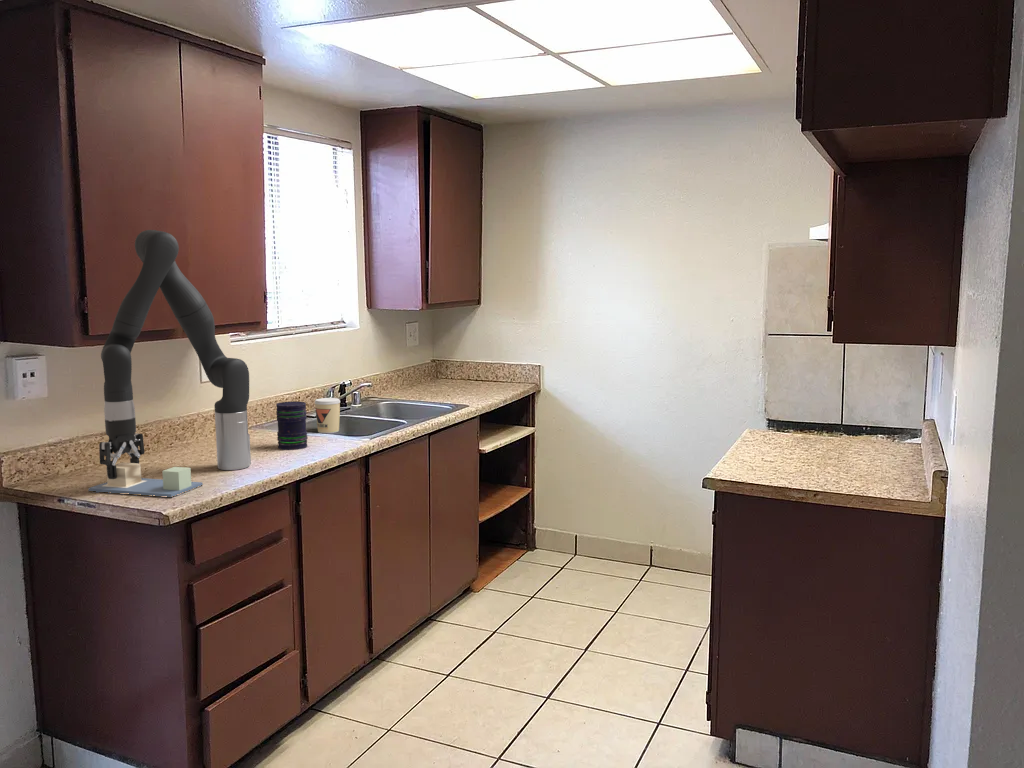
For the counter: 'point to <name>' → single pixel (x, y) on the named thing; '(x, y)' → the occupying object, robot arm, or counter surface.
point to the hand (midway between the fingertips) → (124, 475)
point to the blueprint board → (143, 488)
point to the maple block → (126, 474)
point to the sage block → (176, 478)
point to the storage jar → (291, 425)
